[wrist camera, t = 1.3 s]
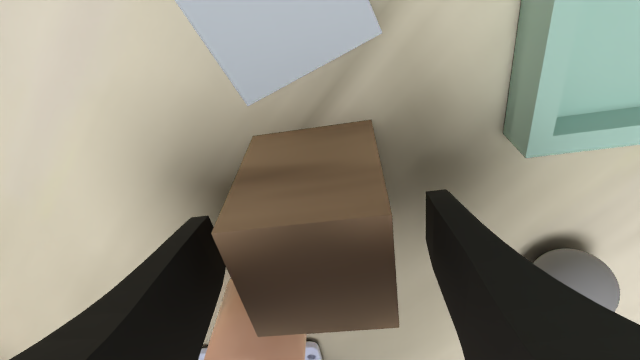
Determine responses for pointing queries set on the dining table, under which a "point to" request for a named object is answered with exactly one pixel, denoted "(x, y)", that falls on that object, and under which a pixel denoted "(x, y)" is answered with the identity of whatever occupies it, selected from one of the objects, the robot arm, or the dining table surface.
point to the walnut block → (311, 233)
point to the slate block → (278, 37)
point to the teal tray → (575, 77)
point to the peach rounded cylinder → (248, 336)
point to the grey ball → (582, 275)
